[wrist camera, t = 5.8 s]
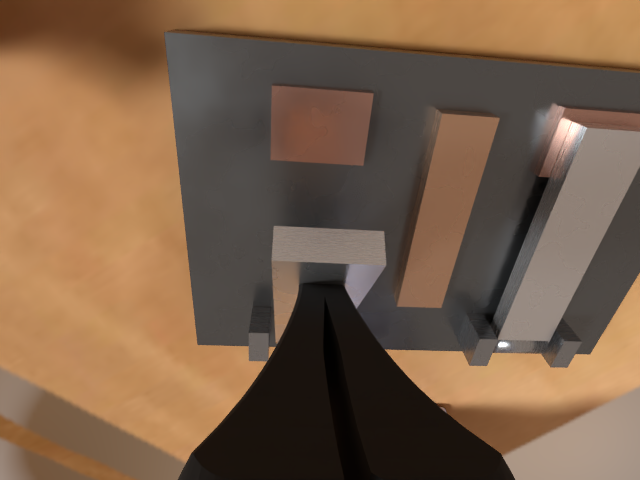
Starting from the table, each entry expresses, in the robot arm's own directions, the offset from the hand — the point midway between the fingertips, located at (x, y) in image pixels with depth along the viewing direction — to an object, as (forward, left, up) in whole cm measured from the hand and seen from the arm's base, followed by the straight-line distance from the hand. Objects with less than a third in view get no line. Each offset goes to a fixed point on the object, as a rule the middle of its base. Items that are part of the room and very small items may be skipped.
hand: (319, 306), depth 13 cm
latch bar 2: (-1, -12, -7) cm, 14 cm away
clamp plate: (-1, -6, -9) cm, 10 cm away
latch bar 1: (-2, 0, -3) cm, 4 cm away
